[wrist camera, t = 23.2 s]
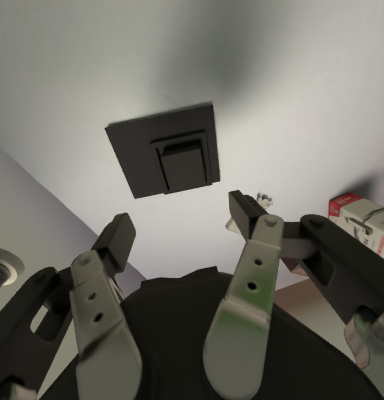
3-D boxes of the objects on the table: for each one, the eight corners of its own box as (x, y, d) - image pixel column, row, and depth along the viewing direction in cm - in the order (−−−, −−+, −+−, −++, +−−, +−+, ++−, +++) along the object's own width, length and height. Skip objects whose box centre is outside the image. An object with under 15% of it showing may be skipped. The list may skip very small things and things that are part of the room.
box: (271, 247, 39) (290, 273, 33) (286, 230, 37) (309, 254, 30) (289, 252, 41) (310, 277, 34) (304, 235, 38) (330, 260, 32)
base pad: (136, 196, 29) (133, 202, 27) (107, 127, 23) (100, 128, 21) (218, 178, 29) (222, 183, 27) (211, 105, 23) (214, 104, 21)
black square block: (171, 182, 27) (170, 192, 23) (162, 151, 24) (160, 157, 21) (201, 176, 27) (205, 185, 23) (196, 143, 24) (200, 148, 21)
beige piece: (225, 225, 34) (228, 233, 32) (257, 180, 30) (263, 185, 27) (251, 234, 36) (255, 242, 34) (285, 193, 32) (293, 199, 29)
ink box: (328, 200, 33) (395, 237, 23) (351, 191, 33) (430, 225, 23) (327, 227, 38) (384, 269, 27) (347, 220, 37) (414, 260, 27)
